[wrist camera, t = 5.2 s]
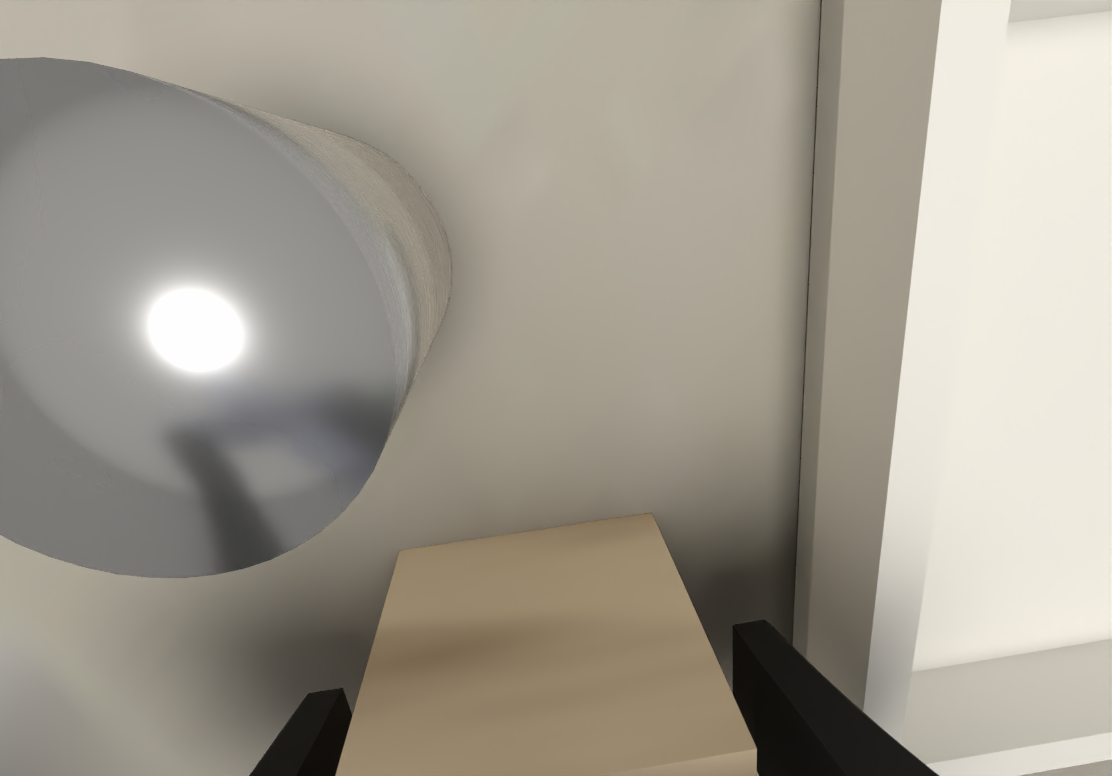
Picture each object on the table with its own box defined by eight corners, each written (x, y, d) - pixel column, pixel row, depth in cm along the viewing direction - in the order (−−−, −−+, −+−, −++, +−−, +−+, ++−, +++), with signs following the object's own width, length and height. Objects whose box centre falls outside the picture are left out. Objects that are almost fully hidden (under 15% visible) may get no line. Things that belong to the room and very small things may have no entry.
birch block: (662, 693, 13) (753, 984, 8) (447, 729, 13) (414, 1048, 8) (650, 509, 11) (756, 748, 6) (400, 548, 11) (322, 822, 6)
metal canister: (471, 367, 10) (439, 540, 5) (238, 400, 9) (-20, 610, 5) (425, 114, 8) (320, 23, 4) (150, 147, 8) (-333, 98, 3)
